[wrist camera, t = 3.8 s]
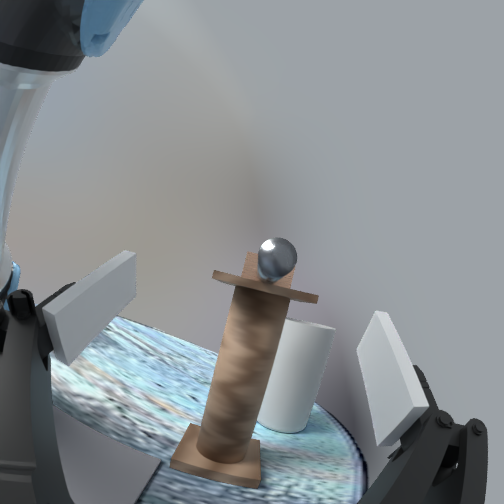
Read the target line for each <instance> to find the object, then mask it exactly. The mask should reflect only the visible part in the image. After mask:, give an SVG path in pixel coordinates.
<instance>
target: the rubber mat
mask: <svg viewBox="0 0 504 504" xmlns="http://www.w3.org/2000/svg"><path fill="white" fill-rule="evenodd" d="M53 415H54V423H55V431H56V437H57V443H58V449H59V454H60V459H61V464H62V468H63V473H64V477H65V481H66V484H67V488H68V491H69V494H70V496H71V498H72V500H73V502H74V503H75V504H135V503H136V501H137V500H138V498H139V497H140V495H141V493H142V492H143V490H144V489H145V487H146V485H147V484H148V482H149V481H150V479H151V477H152V476H153V474H154V473H155V471H156V469H157V468H158V466H159V464H160V463H161V459H158V458H155V457H153V456H150V455H148V454H145V453H143V452H140V451H138V450H136V449H133V448H131V447H129V446H126V445H124V444H122V443H120V442H118V441H116V440H114V439H112V438H110V437H108V436H106V435H104V434H102V433H100V432H98V431H96V430H94V429H92V428H90V427H89V426H87V425H85V424H83V423H82V422H80V421H78V420H76V419H75V418H73V417H72V416H70V415H68V414H67V413H65V412H64V411H62V410H60V409H59V408H57V407H56V406H54V405H53Z"/></svg>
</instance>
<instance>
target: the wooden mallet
mask: <svg viewBox="0 0 504 504" xmlns="http://www.w3.org/2000/svg"><path fill="white" fill-rule="evenodd" d="M296 262H297V253H296V250H295V248H294V246H293V245H292V244H291V243H290V242H289V241H288V240H286V239H283V238H272V239H269V240H268V241H266V242H265V243H263V245H262V246H261V248H260V250H259V253H258V254H256V253H252V252H247V256H246V260H245V264H244V268H243V272H242V276H241V277H243V278H247V279H251V280H255V281H259V282H264V283H268V284H272V285H276V286H280V287H284V288H288V289H290V287H291V282H292V278H293V273H294V270H295V265H296Z"/></svg>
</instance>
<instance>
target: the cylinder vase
mask: <svg viewBox="0 0 504 504" xmlns="http://www.w3.org/2000/svg"><path fill="white" fill-rule="evenodd" d="M335 331H336V329H334V328H331V327H328V326H324V325H319V324H315V323H311V322H307V321H302V320H297V319H292V318H287V317H286V319H285V323H284V327H283V331H282V334H281V338H280V342H279V346H278V349H277V353H276V357H275V360H274V364H273V368H272V371H271V375H270V378H269V382H268V385H267V388H266V392H265V395H264V399H263V402H262V405H261V408H260V412H259V415H258V418H257V421H258V422H259V423H260V424H261V425H263V426H264V427H266V428H268V429H271V430H274V431H277V432H283V433H295V432H299V431H301V430H303V429H304V428H305V427H306V424H307V422H308V419H309V416H310V413H311V410H312V408H313V405H314V402H315V398H316V395H317V393H318V390H319V386H320V383H321V380H322V377H323V374H324V370H325V367H326V364H327V360H328V357H329V353H330V349H331V346H332V342H333V338H334V334H335Z"/></svg>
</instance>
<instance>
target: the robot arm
mask: <svg viewBox="0 0 504 504" xmlns="http://www.w3.org/2000/svg"><path fill="white" fill-rule="evenodd" d="M143 1H144V0H0V504H75V503H74V502H73V500H72V498H71V496H70V494H69V491H68V488H67V484H66V481H65V477H64V473H63V468H62V464H61V459H60V454H59V449H58V443H57V437H56V431H55V423H54V415H53V404H52V391H51V359H50V355H49V353H50V352H51V351H52V350H54V353H55V356H56V359H57V360H59V361H61V362H62V363H64V364H66V365H67V366H69V365H70V364H71V363H72V362H73V361H74V360H75V359H76V358H77V357H78V356H79V354H80V353H81V352H82V351H83V350H84V349H85V348H86V347H87V346H88V345H89V344H90V343H91V342H92V341H93V340H94V338H95V337H96V336H97V335H98V334H99V333H100V332H101V331H102V330H103V329H104V328H105V327H106V326H107V325H108V324H109V323H110V322H111V321H112V320H113V319H114V318H115V317H116V316H117V315H118V314H119V313H120V312H121V311H122V310H123V309H124V308H125V307H126V306H127V305H128V304H129V303H130V302H131V301H132V300H133V299H134V298H135V297H136V253H133V252H130V251H127V250H124V251H123V252H122V253H120V254H118V255H117V256H115V257H114V258H112V259H111V260H109V261H108V262H106V263H105V264H103V265H102V266H100V267H99V268H97V269H96V270H94V271H93V272H91V273H90V274H88V275H87V276H85V277H84V278H83V279H81V280H80V281H78V282H77V283H76V282H73V283H70V284H68V285H65V286H64V287H62V288H61V289H59V290H58V291H57V292H55V293H54V294H53V295H51V296H50V297H48V298H47V299H46V300H44V301H43V302H41V303H40V304H39V305H37V306H36V307H35V304H34V300H33V295H32V293H31V292H30V291H28V290H25V289H20V290H17V288H18V283H19V278H20V267H19V265H17V264H15V262H13V261H12V258H11V253H10V250H9V248H8V246H7V244H6V242H5V236H6V229H7V223H8V216H9V211H10V206H11V200H12V196H13V191H14V187H15V183H16V179H17V175H18V171H19V168H20V164H21V161H22V158H23V154H24V151H25V148H26V145H27V142H28V139H29V137H30V134H31V131H32V128H33V125H34V123H35V121H36V118H37V116H38V113H39V111H40V109H41V106H42V104H43V102H44V99H45V97H46V95H47V93H48V91H49V89H50V87H51V85H52V83H53V82H54V81H55V80H57V79H59V78H62V77H64V76H66V75H68V74H71V73H73V72H75V71H76V70H77V68H78V67H79V65H80V64H81V62H82V60H83V59H84V57H85V56H89V57H92V56H94V57H99V56H102V55H103V54H104V53H105V52H106V51H107V50H108V49H109V48H110V47H111V45H112V44H113V43H114V42H115V40H116V38H117V37H118V35H119V34H120V32H121V31H122V29H123V28H124V27H125V26H126V25H127V23H128V22H129V20H130V19H131V18H132V16H133V15H134V13H135V12H136V11H137V9H138V8H139V6H140V5H141V3H142V2H143ZM356 351H357V354H358V358H359V363H360V366H361V371H362V375H363V379H364V384H365V388H366V393H367V397H368V402H369V407H370V411H371V417H372V422H373V427H374V433H375V438H376V443H377V446H392V445H393V444H394V443H395V442H397V441H398V440H399V439H400V441H401V446H400V447H399V448H398V449H396V450H395V451H394V452H393V453H392V454H391V455H390V456H389V457H388V458H389V459H390V458H391V457H392V458H391V459H390V461H389V462H388V464H387V465H386V466H385V468H384V469H383V471H382V472H381V473H380V475H379V476H378V478H377V479H376V480H375V482H374V483H373V484H372V486H371V487H370V488H369V489H368V491H367V492H366V493H365V494H364V496H363V497H362V498H361V499H360V500H359V502H358V503H357V504H484V502H485V494H486V483H487V465H488V438H487V429H486V427H485V425H484V423H483V422H482V421H480V420H478V419H475V418H473V419H470V421H469V422H468V423H467V424H466V425H465V426H464V425H460V424H455V423H454V421H453V419H452V417H451V416H450V415H449V414H448V413H447V412H445V411H442V410H439V409H438V406H437V404H436V401H435V399H434V397H433V395H432V392H431V390H430V389H429V385H428V383H427V382H426V378H425V376H424V374H423V372H422V371H421V370H420V369H419V368H418V366H417V365H412V363H411V361H410V359H409V356H408V355H407V352H406V350H405V348H404V346H403V343H402V341H401V339H400V337H399V335H398V333H397V331H396V329H395V327H394V325H393V323H392V321H391V319H390V317H389V315H388V313H386V312H381V311H375V313H374V315H373V317H372V319H371V321H370V323H369V326H368V328H367V330H366V332H365V334H364V336H363V338H362V340H361V342H360V344H359V346H358V348H357V350H356ZM457 463H458V466H457V468H456V464H457Z"/></svg>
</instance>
